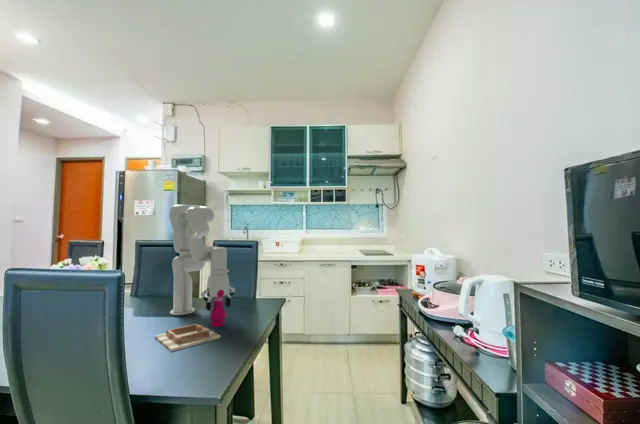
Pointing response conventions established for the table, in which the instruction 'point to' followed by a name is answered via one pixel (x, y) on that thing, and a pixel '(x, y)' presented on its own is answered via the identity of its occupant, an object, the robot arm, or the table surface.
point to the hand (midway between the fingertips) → (218, 308)
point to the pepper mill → (218, 311)
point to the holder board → (186, 337)
